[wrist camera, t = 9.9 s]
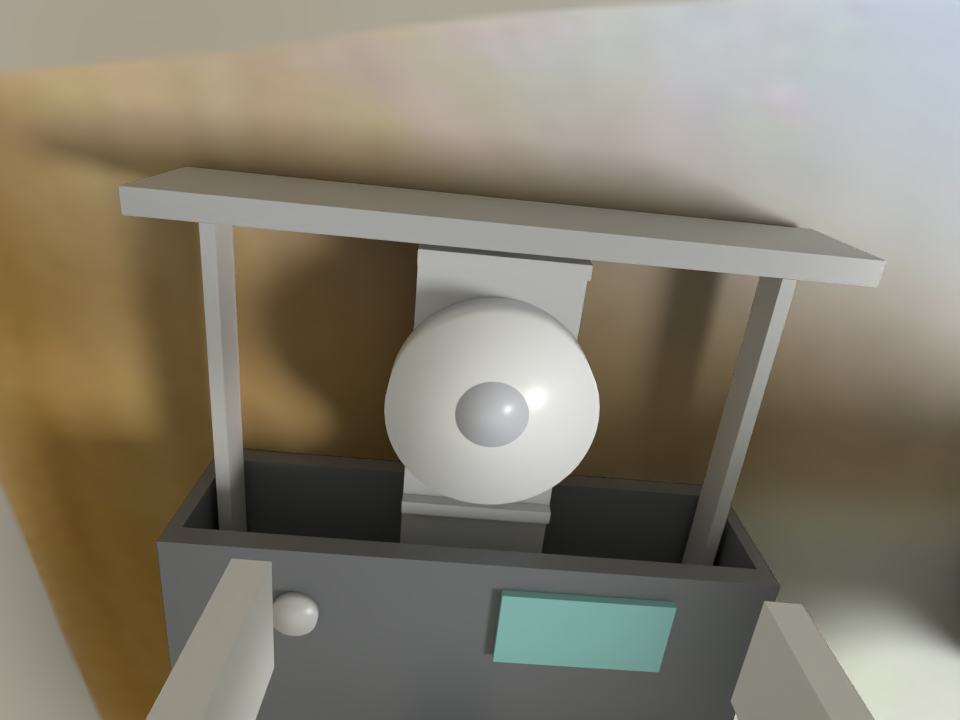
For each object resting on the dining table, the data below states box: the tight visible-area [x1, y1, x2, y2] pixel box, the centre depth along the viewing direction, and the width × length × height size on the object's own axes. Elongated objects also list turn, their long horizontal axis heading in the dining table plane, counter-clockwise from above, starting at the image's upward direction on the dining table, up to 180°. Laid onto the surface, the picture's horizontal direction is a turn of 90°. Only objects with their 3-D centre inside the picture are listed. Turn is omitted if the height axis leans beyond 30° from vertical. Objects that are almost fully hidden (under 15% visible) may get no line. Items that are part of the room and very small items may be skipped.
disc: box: [384, 297, 600, 505], centre depth 22 cm, size 7×7×2 cm
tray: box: [119, 167, 886, 566], centre depth 24 cm, size 17×22×5 cm
